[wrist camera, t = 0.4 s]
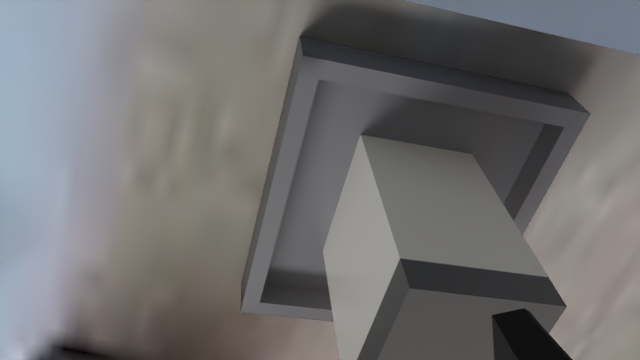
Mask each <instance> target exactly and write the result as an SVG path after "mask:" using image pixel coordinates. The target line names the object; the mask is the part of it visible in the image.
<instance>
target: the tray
mask: <svg viewBox="0 0 640 360" xmlns="http://www.w3.org/2000/svg"><path fill="white" fill-rule="evenodd" d="M589 115H590V113H589V112H588V111H587V110H586V109H585V108H584V107H583V106H581V105H580V104H579V103H578V102H577V101H576V100H575V99H574V98H573V97H572V96H571V95H570V94H569V93H565V92H560V91H556V90H551V89H546V88H541V87H537V86H532V85H527V84H522V83H518V82H513V81H508V80H503V79H498V78H494V77H489V76H484V75H479V74H475V73H470V72H465V71H460V70H456V69H451V68H446V67H441V66H436V65H432V64H427V63H422V62H417V61H413V60H408V59H403V58H398V57H394V56H389V55H384V54H379V53H375V52H370V51H365V50H360V49H355V48H351V47H346V46H341V45H336V44H332V43H327V42H322V41H317V40H313V39H308V38H303V37H299V41H298V45H297V49H296V53H295V58H294V62H293V66H292V70H291V75H290V79H289V83H288V87H287V92H286V96H285V100H284V105H283V109H282V113H281V117H280V122H279V126H278V130H277V134H276V139H275V143H274V147H273V151H272V156H271V160H270V164H269V168H268V173H267V177H266V181H265V185H264V190H263V194H262V198H261V202H260V207H259V211H258V215H257V219H256V224H255V228H254V232H253V236H252V241H251V245H250V249H249V254H248V258H247V262H246V266H245V271H244V275H243V279H242V283H241V312H243V313H253V314H263V315H273V316H283V317H293V318H303V319H313V320H323V321H333V314H332V307H331V301H330V294H329V288H328V281H327V275H326V268H325V262H324V255H323V248H324V245H325V242H326V239H327V236H328V233H329V230H330V227H331V223H332V220H333V217H334V214H335V211H336V208H337V205H338V202H339V199H340V196H341V193H342V190H343V187H344V184H345V180H346V177H347V174H348V171H349V168H350V165H351V162H352V159H353V156H354V153H355V150H356V147H357V144H358V141H359V137H360V135H366V136H372V137H378V138H383V139H389V140H395V141H400V142H406V143H412V144H417V145H423V146H429V147H434V148H440V149H446V150H451V151H457V152H463V153H469V154H472V155H473V156H474V158H475V159H476V161H477V163H478V164H479V166H480V168H481V169H482V171H483V172H484V174H485V176H486V177H487V179H488V180H489V182H490V184H491V185H492V187H493V189H494V190H495V192H496V193H497V195H498V197H499V198H500V200H501V201H502V203H503V205H504V206H505V208H506V210H507V211H508V213H509V214H510V216H511V218H512V219H513V221H514V222H515V224H516V226H517V227H518V229H519V231H520V232H521V234H522V235H523V233H524V231H525V229H526V228H527V226H528V224H529V222H530V221H531V219H532V217H533V215H534V213H535V212H536V210H537V208H538V206H539V204H540V203H541V201H542V199H543V197H544V196H545V194H546V192H547V190H548V188H549V187H550V185H551V183H552V181H553V179H554V178H555V176H556V174H557V172H558V171H559V169H560V167H561V165H562V163H563V162H564V160H565V158H566V156H567V154H568V153H569V151H570V149H571V147H572V146H573V144H574V142H575V140H576V138H577V137H578V135H579V133H580V131H581V130H582V128H583V126H584V124H585V122H586V121H587V119H588V117H589ZM333 322H334V321H333Z"/></svg>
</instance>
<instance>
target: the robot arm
mask: <svg viewBox="0 0 640 360" xmlns="http://www.w3.org/2000/svg"><path fill="white" fill-rule="evenodd" d="M492 329H493V347H494V360H572V359H571V358H570V357H569V355H568V354H567V353H566V352H565V351H564V350H563V349H562V348H561V347H560V346H559V345H558V344H557V342H556V341H555V340H554V339H553V338H552V337H551V336H550V335H549V333H548V332H547V331H546V330H545V329H544V328H543V327H542V325H541V324H540V323H539V322H538V321H537V319H536V318H535V317H534V316H533V315H532V313H531V312H530V311H528V310H526V309H525V308H523V309H518V310H513V311H509V312H504V313H499V314H495V315H492Z"/></svg>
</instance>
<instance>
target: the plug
mask: <svg viewBox="0 0 640 360" xmlns="http://www.w3.org/2000/svg"><path fill="white" fill-rule="evenodd" d="M323 255H324V262H325V268H326V275H327V281H328V288H329V294H330V301H331V307H332V314H333V321H334V327H335V334H336V340H337V347H338V353H339V360H494V347H493V329H492V315H495V314H499V313H504V312H509V311H513V310H518V309H523V308H525V309H526V310H528V311H530V312H531V313H532V315H533V316H534V317H535V318H536V319H537V321H538V322H539V323H540V324H541V325H542V327H543V328H544V329H545V330H546V331H547V332H548V333H549V332H550V331H551V329H552V328H553V326H554V325H555V323H556V322H557V320H558V319H559V317H560V316H561V314H562V313H563V311H564V310H565V308H566V307H567V306H566V305H565V303H564V302H563V300H562V298H561V297H560V295H559V294H558V292H557V290H556V289H555V287H554V285H553V284H552V282H551V281H550V279H549V277H548V276H547V274H546V273H545V271H544V269H543V268H542V266H541V264H540V263H539V261H538V260H537V258H536V256H535V255H534V253H533V252H532V250H531V248H530V247H529V245H528V243H527V242H526V240H525V239H524V237H523V235H522V234H521V232H520V231H519V229H518V227H517V226H516V224H515V222H514V221H513V219H512V218H511V216H510V214H509V213H508V211H507V210H506V208H505V206H504V205H503V203H502V201H501V200H500V198H499V197H498V195H497V193H496V192H495V190H494V189H493V187H492V185H491V184H490V182H489V180H488V179H487V177H486V176H485V174H484V172H483V171H482V169H481V168H480V166H479V164H478V163H477V161H476V159H475V158H474V156H473V155H472V154H469V153H463V152H457V151H451V150H446V149H440V148H434V147H429V146H423V145H417V144H412V143H406V142H400V141H395V140H389V139H383V138H378V137H372V136H366V135H360V137H359V141H358V144H357V147H356V150H355V153H354V156H353V159H352V162H351V165H350V168H349V171H348V174H347V177H346V180H345V184H344V187H343V190H342V193H341V196H340V199H339V202H338V205H337V208H336V211H335V214H334V217H333V220H332V223H331V227H330V230H329V233H328V236H327V239H326V242H325V245H324V248H323Z"/></svg>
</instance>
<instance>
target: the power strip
mask: <svg viewBox="0 0 640 360" xmlns="http://www.w3.org/2000/svg"><path fill="white" fill-rule="evenodd" d="M406 1H410V2H415V3H419V4H423V5H428V6H432V7H436V8H440V9H445V10H449V11H453V12H458V13H462V14H466V15H470V16H475V17H479V18H483V19H487V20H492V21H496V22H500V23H505V24H509V25H513V26H517V27H522V28H526V29H530V30H535V31H539V32H543V33H547V34H552V35H556V36H560V37H564V38H569V39H573V40H577V41H582V42H586V43H590V44H594V45H599V46H603V47H607V48H612V49H616V50H620V51H624V52H629V53H633V54H637V55H640V0H406Z"/></svg>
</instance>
